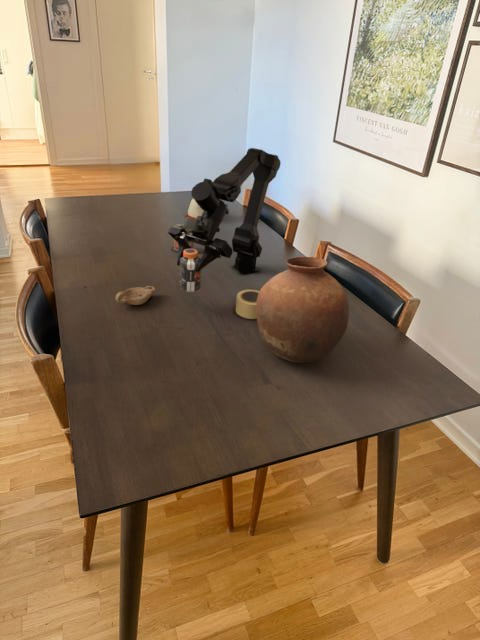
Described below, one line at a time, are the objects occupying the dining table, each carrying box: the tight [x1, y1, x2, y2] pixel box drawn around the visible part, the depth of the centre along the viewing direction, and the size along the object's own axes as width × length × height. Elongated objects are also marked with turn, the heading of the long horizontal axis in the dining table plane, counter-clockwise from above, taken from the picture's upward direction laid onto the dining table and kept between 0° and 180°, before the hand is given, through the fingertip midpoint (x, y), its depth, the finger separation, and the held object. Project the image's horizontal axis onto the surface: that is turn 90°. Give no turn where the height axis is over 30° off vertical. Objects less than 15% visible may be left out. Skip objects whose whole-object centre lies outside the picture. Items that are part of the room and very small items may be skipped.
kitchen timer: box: [187, 198, 204, 219], centre depth 195 cm, size 14×14×15 cm
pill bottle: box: [179, 248, 202, 293], centre depth 125 cm, size 6×6×11 cm
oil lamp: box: [115, 285, 156, 306], centre depth 130 cm, size 13×8×5 cm, turn 134°
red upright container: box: [173, 223, 194, 252], centre depth 163 cm, size 8×3×10 cm, turn 68°
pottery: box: [256, 256, 350, 364], centre depth 111 cm, size 23×23×25 cm
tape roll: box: [235, 289, 260, 320], centre depth 131 cm, size 9×9×5 cm
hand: (187, 268), depth 123 cm, fingers closed on pill bottle, 6 cm apart
